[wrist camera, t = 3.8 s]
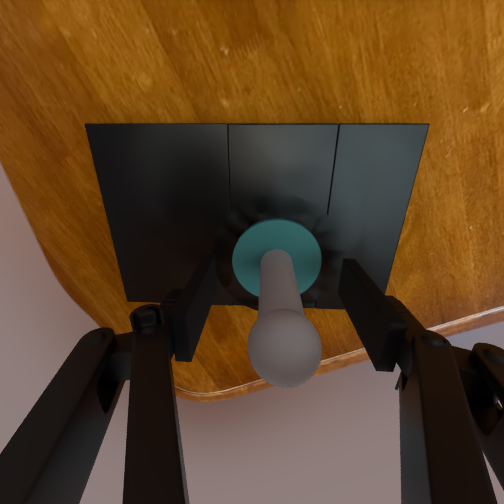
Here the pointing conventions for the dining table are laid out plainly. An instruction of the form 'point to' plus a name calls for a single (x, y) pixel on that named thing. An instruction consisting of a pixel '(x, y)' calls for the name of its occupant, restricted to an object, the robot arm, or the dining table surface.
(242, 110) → the dining table surface
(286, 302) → the stopper
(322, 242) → the plate
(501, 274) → the dining table surface
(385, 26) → the dining table surface
